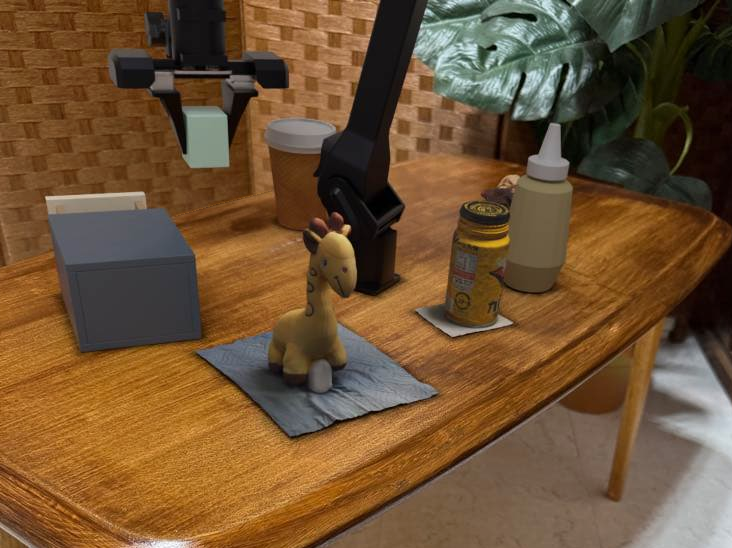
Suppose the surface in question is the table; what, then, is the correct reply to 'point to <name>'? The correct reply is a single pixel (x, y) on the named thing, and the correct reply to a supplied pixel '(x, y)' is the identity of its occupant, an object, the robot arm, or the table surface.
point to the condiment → (474, 271)
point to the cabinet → (126, 278)
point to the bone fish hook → (502, 191)
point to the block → (206, 137)
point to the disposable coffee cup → (296, 168)
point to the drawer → (95, 202)
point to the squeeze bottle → (540, 219)
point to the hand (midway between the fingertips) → (205, 152)
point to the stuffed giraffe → (317, 350)
